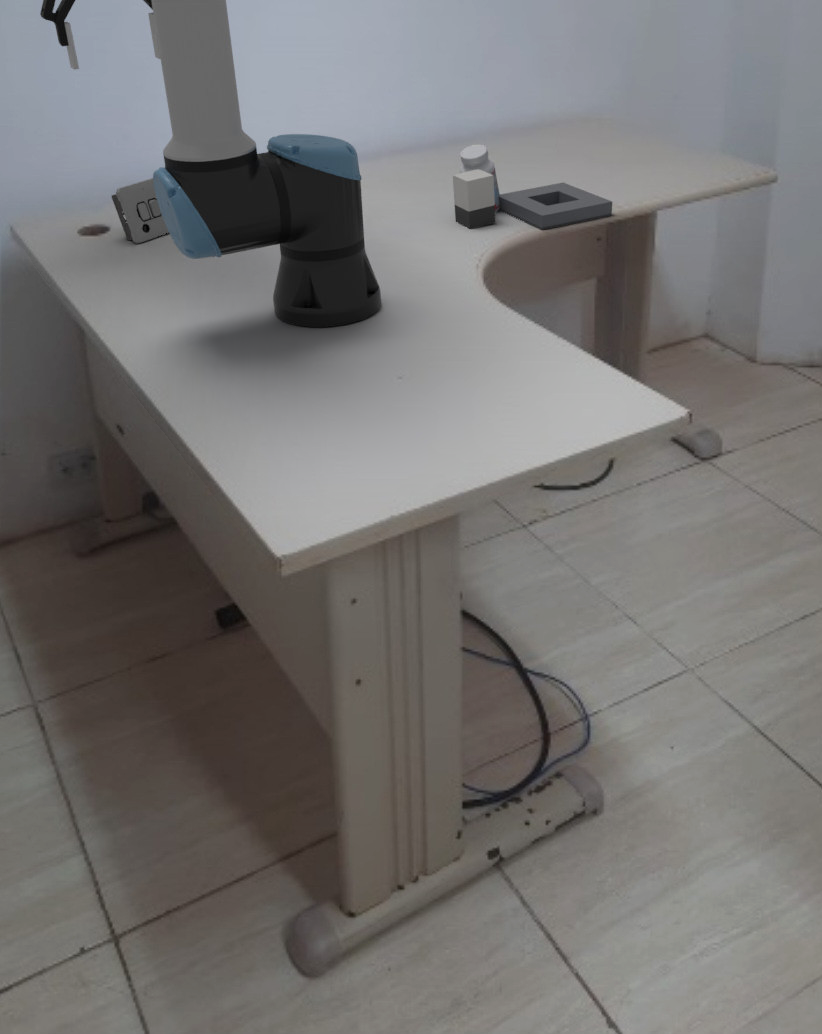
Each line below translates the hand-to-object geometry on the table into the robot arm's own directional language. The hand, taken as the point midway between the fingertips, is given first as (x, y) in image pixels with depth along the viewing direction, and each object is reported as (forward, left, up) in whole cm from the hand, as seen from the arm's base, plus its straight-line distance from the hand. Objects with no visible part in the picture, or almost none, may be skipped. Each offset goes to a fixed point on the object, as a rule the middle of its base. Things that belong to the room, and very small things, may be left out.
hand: (118, 63), depth 168 cm
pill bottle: (-20, -56, -28) cm, 65 cm away
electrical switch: (0, 0, -28) cm, 28 cm away
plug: (-26, -50, -28) cm, 63 cm away
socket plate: (-28, -64, -28) cm, 75 cm away
